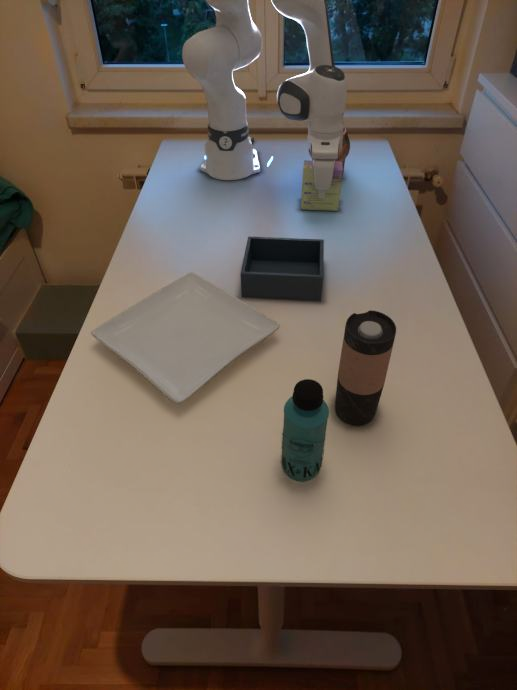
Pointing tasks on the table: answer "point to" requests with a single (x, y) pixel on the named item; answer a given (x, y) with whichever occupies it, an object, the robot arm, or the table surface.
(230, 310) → the square plate
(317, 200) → the box
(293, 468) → the beverage bottle
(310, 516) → the table surface
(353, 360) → the travel mug
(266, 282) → the bin
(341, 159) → the decorative planter
